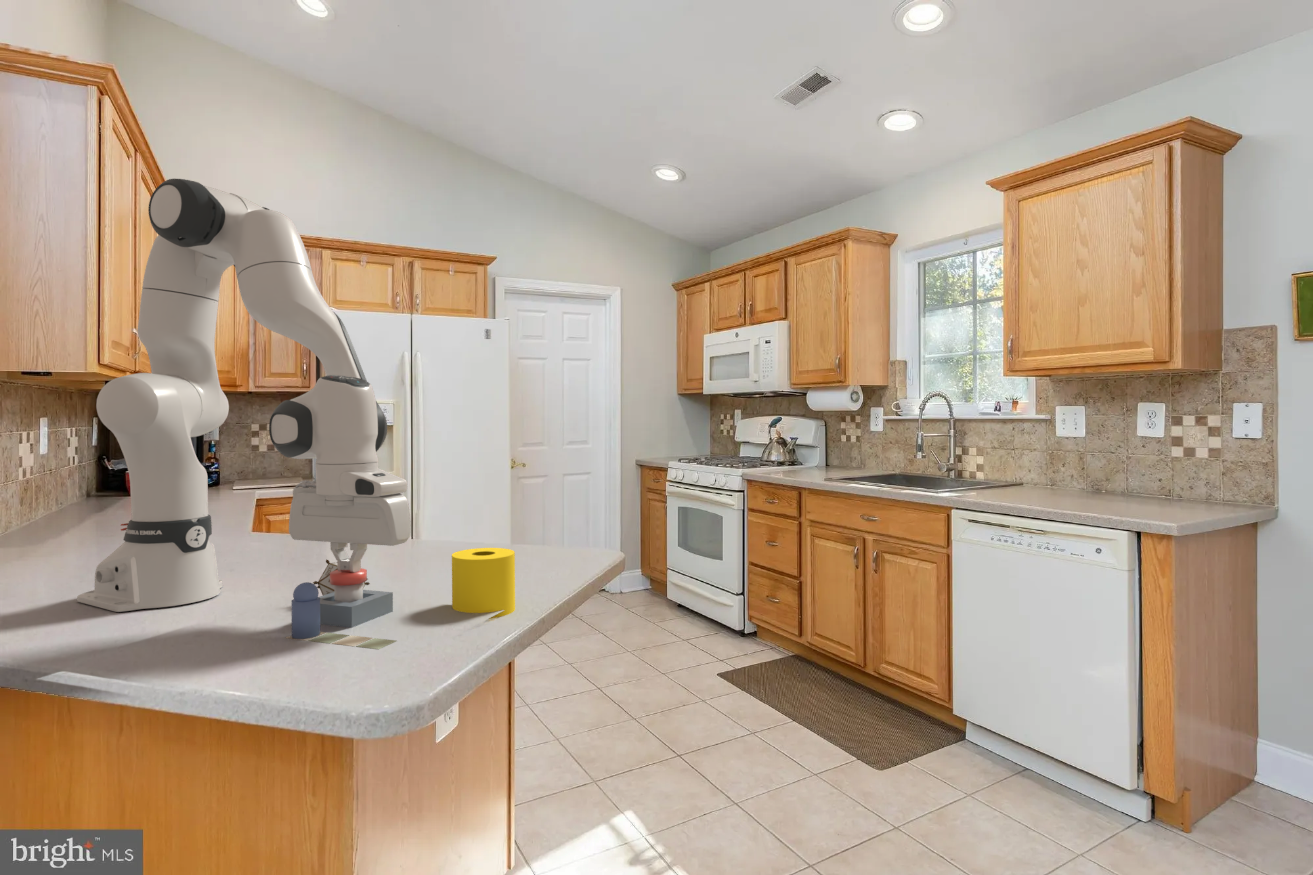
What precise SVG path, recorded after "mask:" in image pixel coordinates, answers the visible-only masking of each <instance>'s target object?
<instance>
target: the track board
mask: <svg viewBox="0 0 1313 875" xmlns="http://www.w3.org/2000/svg"><path fill="white" fill-rule="evenodd" d="M285 639H289V640H297V641H304V642H305V641H306V642H313V643H323V644H328V645H329V644H331V645H339V646H347V647H356V648H363V649H364V648H365V649H373V650H380V649H383V648H385V647H387V646H389V645H391V644H395V643H396V642H397V640H394V639H388V638H387V639H386V638H377V637H374V638H373V637H368V636H361V635H359V636H358V635H352V634H351V635H350V634H342V633H334V632H325V631H320V635H318V636H316V637H312V638H306V639H295V638H292V634H291V635H288V636H286V637H285Z"/></svg>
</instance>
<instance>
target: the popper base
mask: <svg viewBox="0 0 1313 875" xmlns="http://www.w3.org/2000/svg"><path fill="white" fill-rule="evenodd" d="M393 594H394V592H392V591H382V590H371V589H363V599H360V600H357V601H354V602H351V603H347V602H337V601H335V597H334V592H332V593H329V594H326V595H320V596H318V597H319V598H320V625H325V626H335V627H343V628H351V629H352V628H354V627H357V626H359V625H363V624H366V623H367V622H370V621H372V620H375V619H377V618H380V617H382V616H385V615H388V614H390V613H393V612H394V601H393V600H394V595H393Z"/></svg>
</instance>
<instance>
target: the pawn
mask: <svg viewBox="0 0 1313 875" xmlns="http://www.w3.org/2000/svg"><path fill="white" fill-rule="evenodd" d="M317 587H318V586H317V585H316V584H314V583H313V582H309V581H307V582H302V583H299V585H297V586H296V587H295V588H294V590H293V593H292V598H293V599H291V635H292V638H295V639H294V640H296V639H306V638H312V637H315V638H316V636H317V637H319V636H318V635H320V632H321V624H320V598H319V597H320V596H319V588H317ZM320 636H321V635H320ZM312 639H313V638H312Z"/></svg>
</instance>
